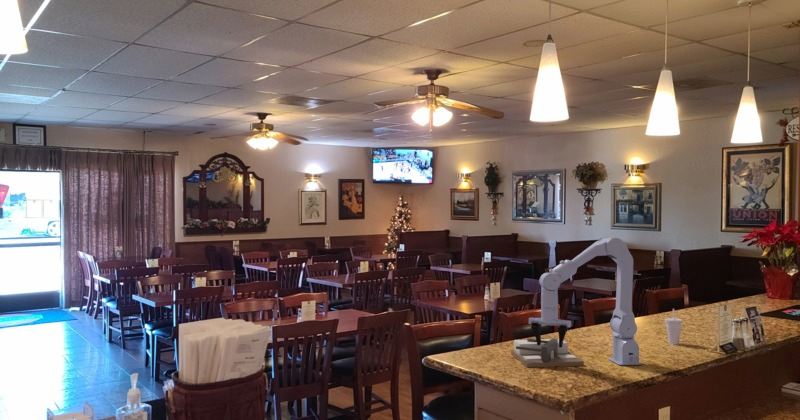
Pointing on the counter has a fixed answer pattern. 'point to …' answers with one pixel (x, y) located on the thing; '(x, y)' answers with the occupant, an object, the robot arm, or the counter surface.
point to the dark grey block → (544, 348)
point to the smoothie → (673, 329)
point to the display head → (534, 357)
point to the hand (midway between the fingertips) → (549, 345)
